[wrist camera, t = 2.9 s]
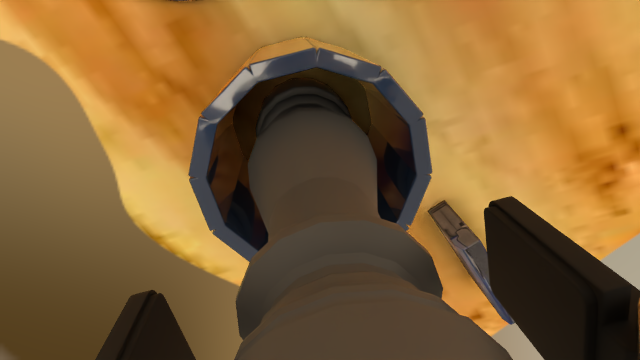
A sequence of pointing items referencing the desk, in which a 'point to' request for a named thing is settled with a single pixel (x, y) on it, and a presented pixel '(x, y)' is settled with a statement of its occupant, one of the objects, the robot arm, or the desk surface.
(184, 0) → the coaster
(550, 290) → the robot arm
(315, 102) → the candle holder
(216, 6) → the desk surface
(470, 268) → the mini dv tape
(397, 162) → the crock
